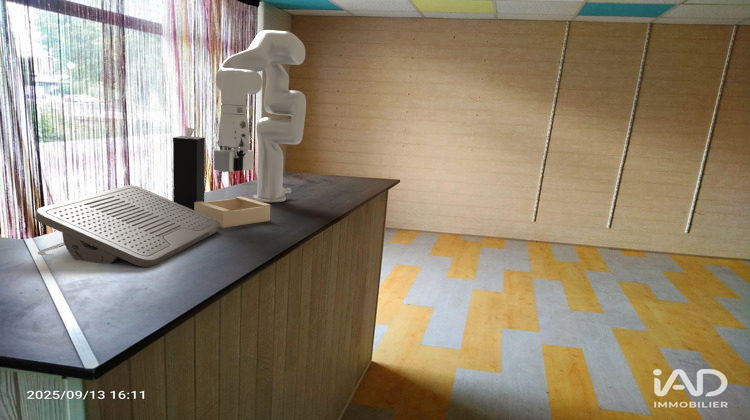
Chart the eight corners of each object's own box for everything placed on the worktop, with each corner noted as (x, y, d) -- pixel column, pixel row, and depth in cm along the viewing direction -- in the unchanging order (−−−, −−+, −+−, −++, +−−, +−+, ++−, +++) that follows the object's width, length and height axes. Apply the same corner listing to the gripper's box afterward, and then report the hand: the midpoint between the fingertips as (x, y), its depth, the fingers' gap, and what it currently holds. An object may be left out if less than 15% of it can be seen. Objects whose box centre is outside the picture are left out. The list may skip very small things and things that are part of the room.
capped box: (243, 167, 174) (243, 148, 173) (252, 169, 171) (253, 150, 170) (214, 169, 166) (214, 150, 165) (223, 172, 163) (224, 152, 162)
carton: (241, 213, 184) (241, 196, 182) (269, 222, 174) (270, 204, 173) (194, 220, 170) (194, 202, 168) (222, 230, 161) (223, 211, 159)
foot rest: (149, 278, 119) (148, 223, 117) (27, 263, 123) (24, 209, 121) (223, 235, 157) (224, 193, 154) (128, 224, 161) (127, 183, 158)
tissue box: (196, 213, 178) (197, 129, 172) (173, 212, 178) (172, 127, 172) (204, 209, 186) (205, 127, 180) (181, 207, 186) (181, 125, 180)
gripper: (261, 113, 162) (259, 172, 166) (226, 108, 172) (226, 164, 176) (240, 112, 156) (239, 174, 160) (206, 108, 167) (206, 166, 171)
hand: (232, 168), depth 168 cm, fingers closed on capped box, 5 cm apart
